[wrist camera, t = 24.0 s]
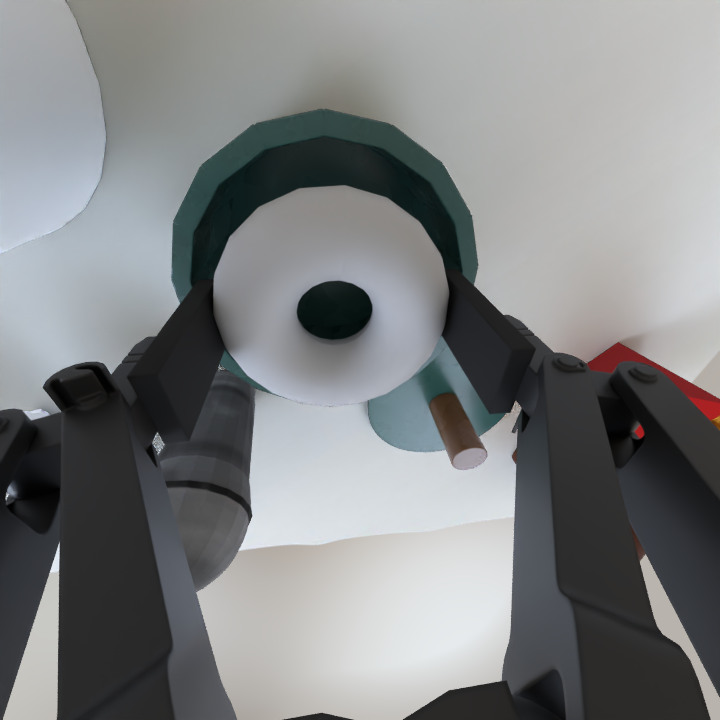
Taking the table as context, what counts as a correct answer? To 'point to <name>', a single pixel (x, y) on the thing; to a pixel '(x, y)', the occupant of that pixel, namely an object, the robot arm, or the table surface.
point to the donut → (320, 264)
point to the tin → (318, 169)
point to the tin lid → (435, 414)
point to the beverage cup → (213, 478)
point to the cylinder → (45, 120)
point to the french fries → (707, 403)
